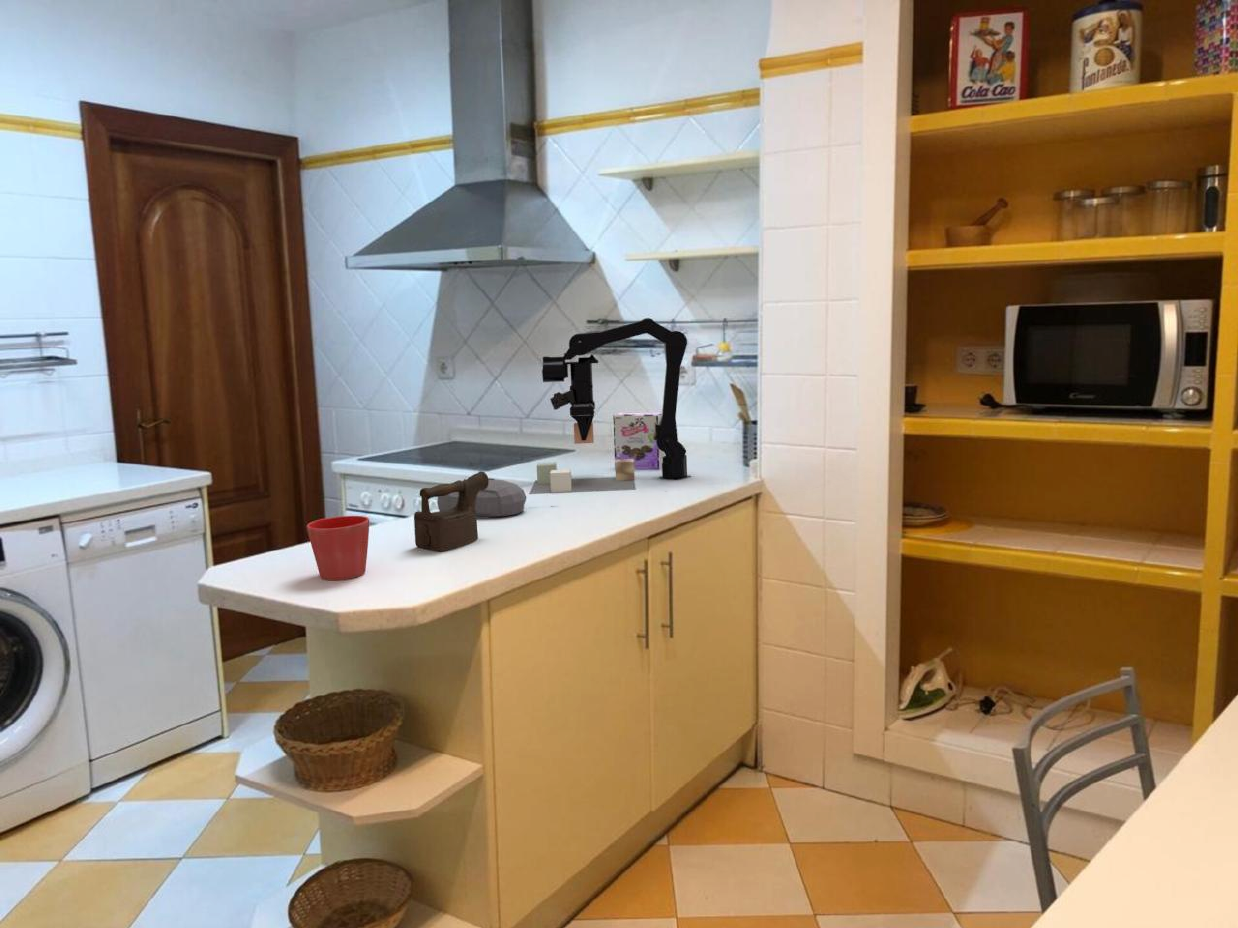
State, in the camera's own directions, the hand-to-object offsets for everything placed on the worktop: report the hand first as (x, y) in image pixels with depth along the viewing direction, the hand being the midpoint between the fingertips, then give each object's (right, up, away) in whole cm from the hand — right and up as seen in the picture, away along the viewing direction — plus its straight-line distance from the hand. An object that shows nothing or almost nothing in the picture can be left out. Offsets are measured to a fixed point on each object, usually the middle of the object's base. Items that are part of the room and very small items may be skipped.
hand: (584, 439), depth 257 cm
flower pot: (-40, -27, -87) cm, 99 cm away
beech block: (+11, -11, +2) cm, 15 cm away
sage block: (-10, -12, +2) cm, 15 cm away
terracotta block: (0, -1, 0) cm, 1 cm away
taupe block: (-5, -13, -12) cm, 19 cm away
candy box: (+16, -9, +21) cm, 27 cm away
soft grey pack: (-22, -18, -35) cm, 45 cm away
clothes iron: (-23, -23, -65) cm, 73 cm away
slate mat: (0, -13, -5) cm, 13 cm away
